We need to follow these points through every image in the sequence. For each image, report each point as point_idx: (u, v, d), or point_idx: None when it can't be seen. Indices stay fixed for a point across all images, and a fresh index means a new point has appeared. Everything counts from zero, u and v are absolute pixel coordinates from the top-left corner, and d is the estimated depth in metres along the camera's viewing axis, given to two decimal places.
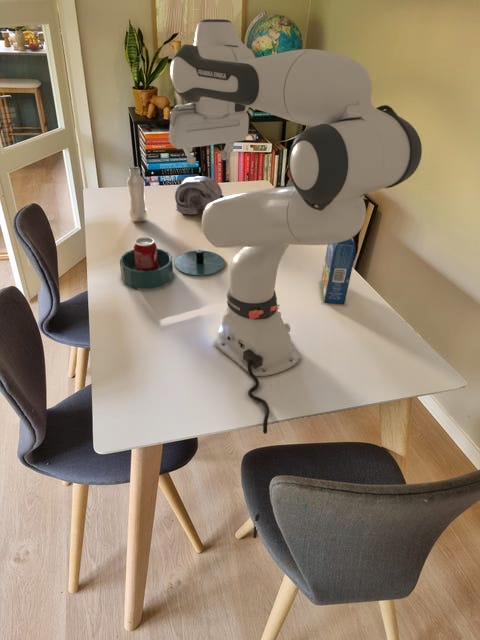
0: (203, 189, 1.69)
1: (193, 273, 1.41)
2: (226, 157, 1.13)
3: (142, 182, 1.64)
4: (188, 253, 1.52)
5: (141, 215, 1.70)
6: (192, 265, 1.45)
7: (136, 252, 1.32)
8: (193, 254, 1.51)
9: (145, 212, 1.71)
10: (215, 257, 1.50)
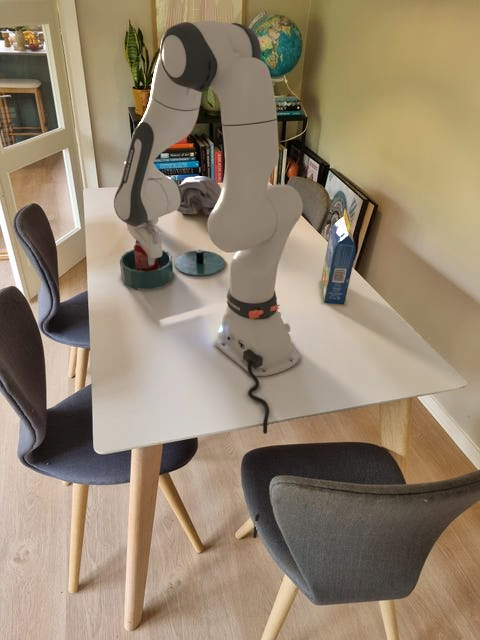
0: (203, 189, 1.69)
1: (193, 273, 1.41)
2: None
3: None
4: (188, 253, 1.52)
5: None
6: (192, 265, 1.45)
7: (136, 252, 1.32)
8: (193, 254, 1.51)
9: None
10: (215, 257, 1.50)
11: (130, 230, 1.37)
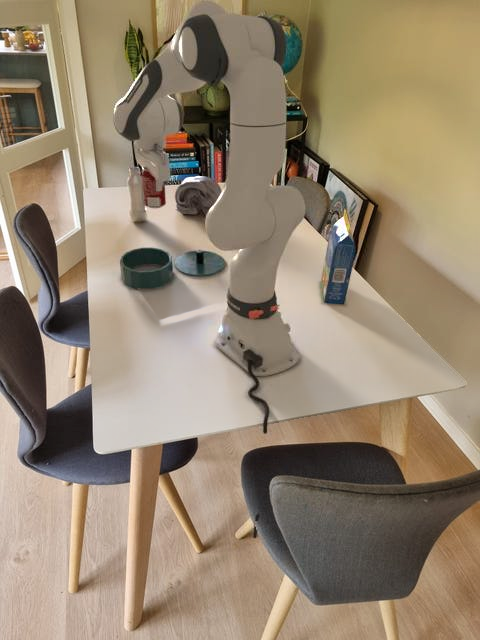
0: (203, 189, 1.69)
1: (193, 273, 1.41)
2: None
3: (142, 182, 1.64)
4: (188, 253, 1.52)
5: (141, 215, 1.70)
6: (192, 265, 1.45)
7: (144, 178, 1.36)
8: (193, 254, 1.51)
9: (145, 212, 1.71)
10: (215, 257, 1.50)
11: (138, 159, 1.40)
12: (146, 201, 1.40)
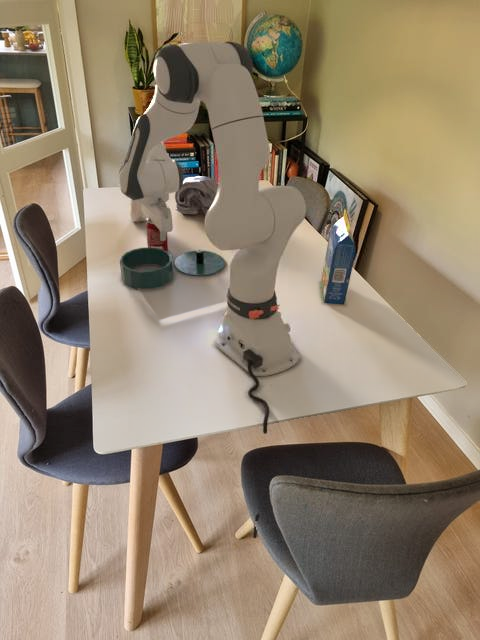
0: (203, 189, 1.69)
1: (193, 273, 1.41)
2: None
3: None
4: (188, 253, 1.52)
5: (141, 215, 1.70)
6: (192, 265, 1.45)
7: (148, 229, 1.46)
8: (193, 254, 1.51)
9: None
10: (215, 257, 1.50)
11: (143, 209, 1.50)
12: None
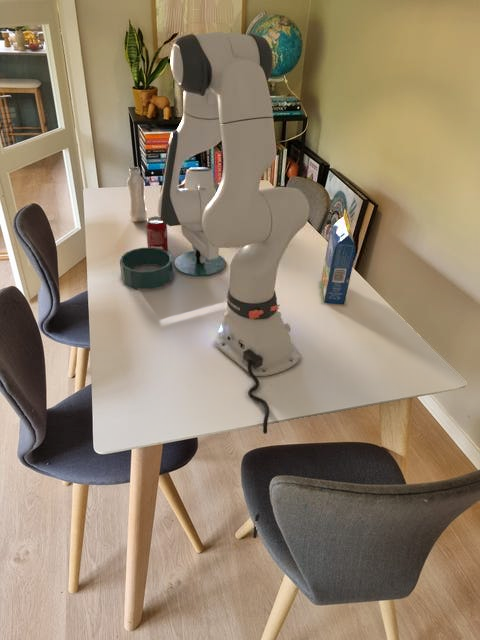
0: None
1: (193, 273, 1.41)
2: None
3: (142, 182, 1.64)
4: (188, 253, 1.52)
5: (141, 215, 1.70)
6: (192, 265, 1.45)
7: (148, 229, 1.46)
8: (193, 254, 1.51)
9: (145, 212, 1.71)
10: None
11: (185, 233, 1.47)
12: None
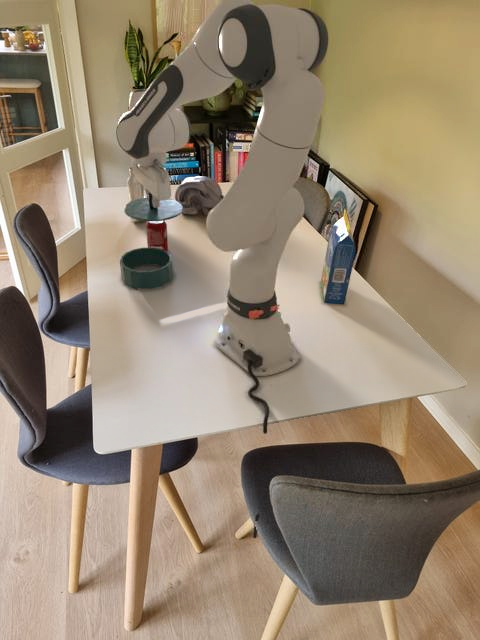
0: (203, 189, 1.69)
1: (143, 218, 1.22)
2: None
3: None
4: (142, 199, 1.33)
5: None
6: (144, 210, 1.27)
7: (148, 229, 1.46)
8: None
9: None
10: (172, 203, 1.32)
11: (136, 175, 1.28)
12: None
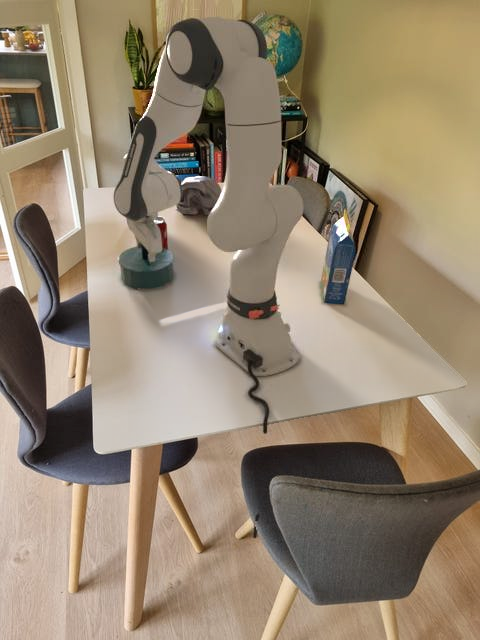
0: (203, 189, 1.69)
1: (136, 269, 1.30)
2: None
3: None
4: (135, 248, 1.41)
5: None
6: (137, 261, 1.34)
7: None
8: (141, 249, 1.40)
9: None
10: (164, 252, 1.39)
11: (130, 226, 1.36)
12: None
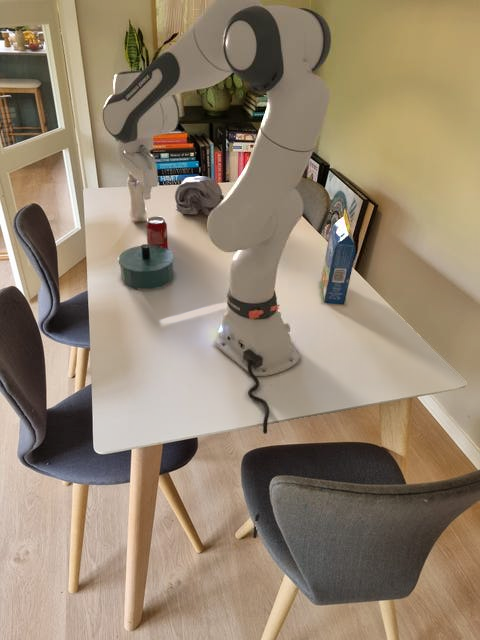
0: (203, 189, 1.69)
1: (136, 269, 1.30)
2: None
3: None
4: (135, 248, 1.41)
5: (141, 215, 1.70)
6: (137, 261, 1.34)
7: (148, 229, 1.46)
8: (141, 249, 1.40)
9: (145, 212, 1.71)
10: (164, 252, 1.39)
11: (123, 162, 1.25)
12: None
